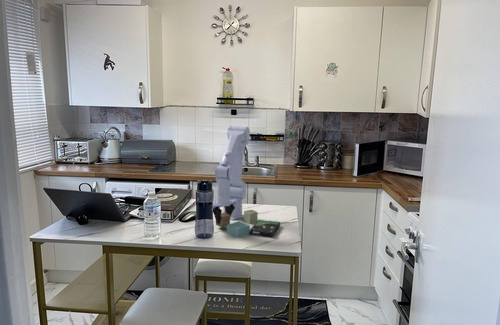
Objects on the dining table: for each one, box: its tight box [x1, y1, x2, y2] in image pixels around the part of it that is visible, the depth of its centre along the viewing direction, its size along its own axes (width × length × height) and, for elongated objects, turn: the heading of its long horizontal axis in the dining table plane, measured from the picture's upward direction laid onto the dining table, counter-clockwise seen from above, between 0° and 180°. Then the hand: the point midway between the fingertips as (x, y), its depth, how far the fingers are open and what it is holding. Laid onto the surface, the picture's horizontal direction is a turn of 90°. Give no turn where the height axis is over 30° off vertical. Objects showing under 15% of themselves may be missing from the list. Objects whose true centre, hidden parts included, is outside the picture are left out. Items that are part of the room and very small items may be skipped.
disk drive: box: [249, 219, 281, 239], centre depth 169 cm, size 10×3×15 cm
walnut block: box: [215, 211, 231, 228], centre depth 170 cm, size 4×4×5 cm
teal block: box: [226, 220, 251, 239], centre depth 165 cm, size 7×7×4 cm
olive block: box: [243, 209, 259, 225], centre depth 180 cm, size 4×4×5 cm
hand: (222, 222), depth 170 cm, fingers closed on walnut block, 4 cm apart
